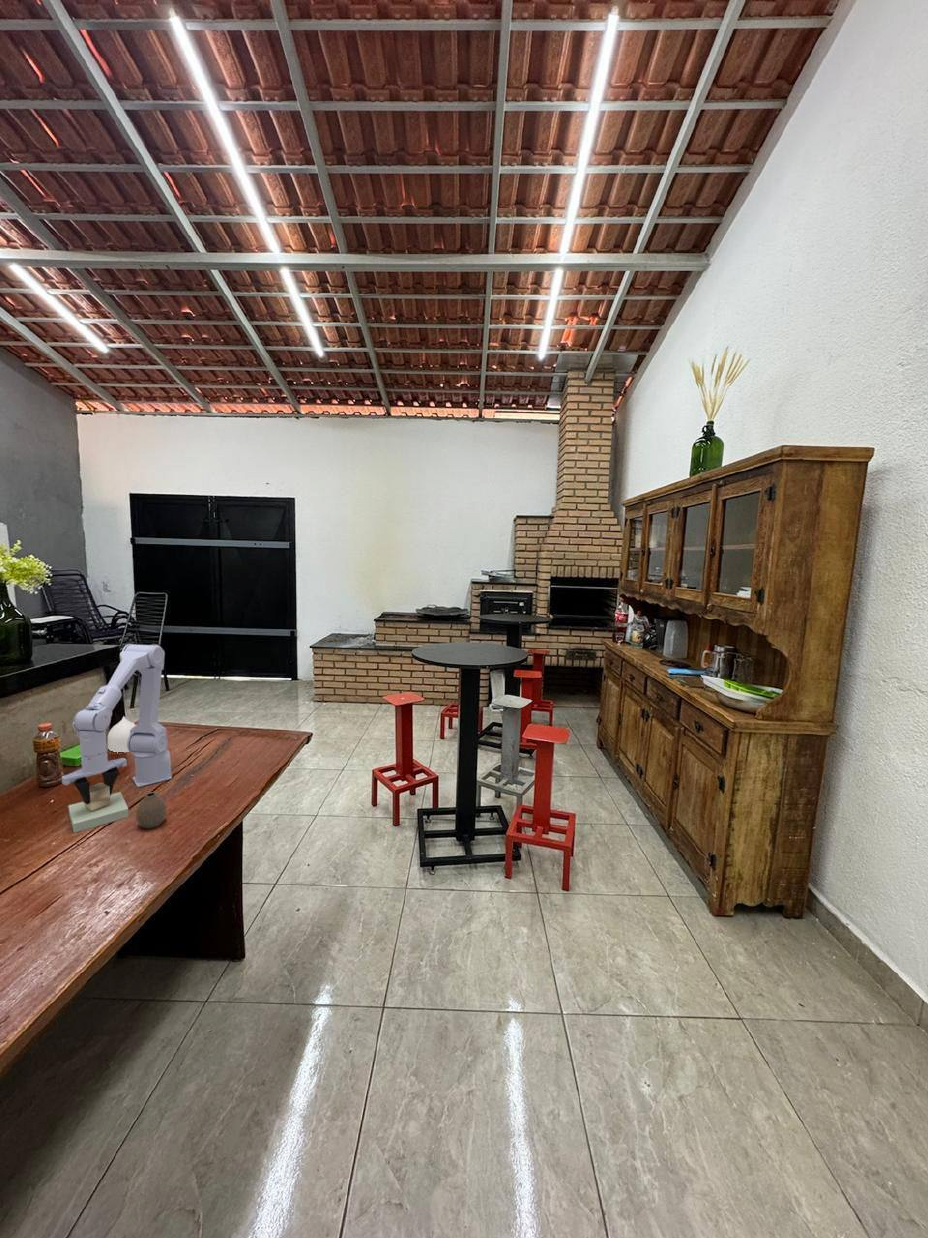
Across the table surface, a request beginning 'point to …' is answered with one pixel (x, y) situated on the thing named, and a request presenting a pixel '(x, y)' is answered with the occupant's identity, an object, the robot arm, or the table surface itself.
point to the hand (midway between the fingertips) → (97, 799)
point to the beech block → (98, 796)
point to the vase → (151, 811)
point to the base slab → (98, 813)
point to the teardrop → (120, 736)
